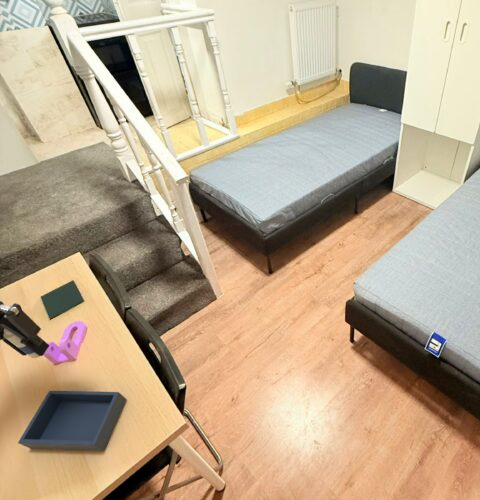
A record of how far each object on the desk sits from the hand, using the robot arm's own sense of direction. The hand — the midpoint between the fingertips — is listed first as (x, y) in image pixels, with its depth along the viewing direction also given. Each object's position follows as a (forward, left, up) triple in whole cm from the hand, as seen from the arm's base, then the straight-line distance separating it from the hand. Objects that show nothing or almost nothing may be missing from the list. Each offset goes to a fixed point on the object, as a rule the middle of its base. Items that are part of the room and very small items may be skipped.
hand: (36, 350), depth 78 cm
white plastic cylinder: (0, 0, -1) cm, 1 cm away
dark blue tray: (+9, -10, -16) cm, 21 cm away
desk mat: (-22, +24, -16) cm, 36 cm away
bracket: (-8, +10, -16) cm, 21 cm away
